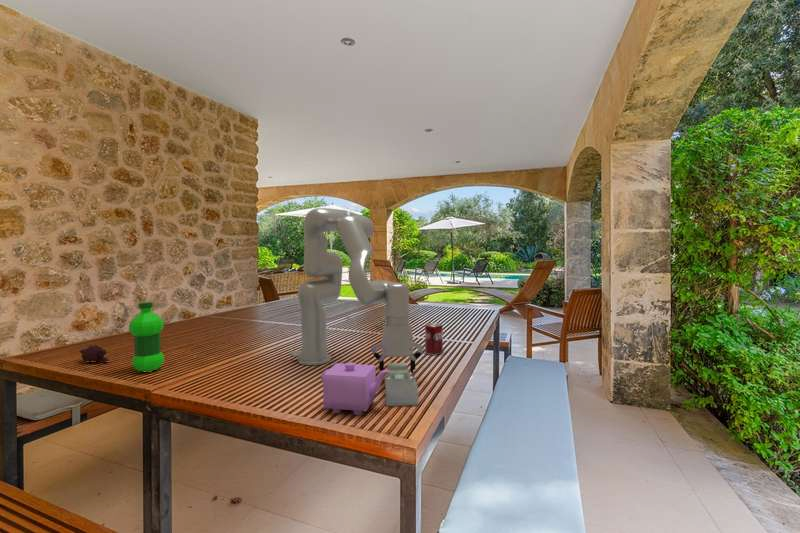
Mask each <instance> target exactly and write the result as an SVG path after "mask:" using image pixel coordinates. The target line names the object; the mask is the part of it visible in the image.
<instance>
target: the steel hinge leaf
mask: <svg viewBox="0 0 800 533" xmlns="http://www.w3.org/2000/svg"><path fill="white" fill-rule="evenodd" d="M384 393H385V406H386V407H402V406H403V407H405V406H406V407H409V406H419V387H418V383H417V380H416V377H415V375H411V374H409V375H407V378H399V379H392V376H388V375H384Z"/></svg>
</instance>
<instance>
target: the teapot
mask: <svg viewBox="0 0 800 533" xmlns="http://www.w3.org/2000/svg"><path fill="white" fill-rule="evenodd" d="M388 372H390V370H387V369H384V370H383V371H379V373H378V374H377V376H376V364H358V363H356V362H354V361H353V362H351V361H350V362H346V363H337V362H336V363H335V364H333V365H332V367H330V368H327V369H325V370H324V371H323V372H322V373H321V376H320V378H321V382H322V388H323V389H322V390H323V393H322V394H323V395H322V396H323V409H328V410H329V409H331V410H332V411H331V413H333V414H340V413H341V412H342V411H343V410H344V411H352V413H353V414H352V415H354V416H360V415H362V414H363V412H367V411H368V409H369V408H370V407H371V404H373V401H374V400H375V398H376V397H377V392H379V390H380V388H381V385H382V382H383V378H384V377H385V376H386V375H387V373H388Z"/></svg>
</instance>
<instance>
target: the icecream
mask: <svg viewBox="0 0 800 533" xmlns="http://www.w3.org/2000/svg"><path fill="white" fill-rule="evenodd" d="M79 353H80V354H81V358H82V361H84V362H86V361H89V362H90V363H92V362H91V361H98V362H102V361H109V362H110V360H109V358H108V357H105V355H107V350H106V349H103V347H102V346H99V345H98V344H94V345H93V344H92V345H89V346H88V347H86V348H83V349H80V350H79ZM99 360H100V361H99Z"/></svg>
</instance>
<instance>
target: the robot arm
mask: <svg viewBox="0 0 800 533" xmlns="http://www.w3.org/2000/svg"><path fill="white" fill-rule="evenodd" d="M303 232H304V250H303V253H304V254H303V272H304V274H305V275H306V276H307V277H310V278H320V277H323V279H311V280H307V281H304V282H302V283H301V284H299V285H300V286H299V287H298V289H297V297H298V298H297V299H298V302H299V306H300V321H301V323H300V326H301V349H298V350H291V351H290V356H292V357H293V358H296V357H297V358H298V359H297V362H298V364H300V365H303V366H317V365H318V366H321V365H324V364H328V363H329V362H331V360H332V355H330V354H328V346H327V345H328V344H327V343H328V341H327V339H328V338H327V337H328V336H327V314H326V310H325V309H324V308H323V306H322V304H328V303H332V302H336V301H337V300H338V299H339V297H340V296H341V290H342V279H343V278H342V277H343V261H342V258H341V257H340V255H339V254H337V253H336V252H333V251H328V243H329V242H328V239H327V236H326V234H325V232H333V233H336V232H337V234H338V235H339V237H340V239H341V243H342V244H343V246H344V248H345V251H346V253H347V255H348V257H349V260H350V264H349V268H348V279H349V285H350V286H351V289H352V292H353V293H354V295H355V297H356V299H357V300H358V302H359V303H360V304H362V305H363V306H372V305H373V306H374V305H378V304H384V303H385V316H383V317H381V322H382V323H385V324H383V327H382V336H381V341H380V342H377V343H376V344H375V345H373V346H371V347H370V352H372V355H373V357H374V358H375V359H376V360H378V363H379V366H378V367H379V370H378V371H379V372H381V371H383V370H385V366H384V365H385V361H384V360H385V358H404V357H405V358H406V357H409V358H410V363H409V367H410V368H409V370H410V371H409V372H410V373H411V374H414V371H415V370H416V361H417V359H418V358H420V357H421V355H422V353H423V351H424V350H425V346H423V345H422V344H419V343H417V342H415V341H414V335H413V327H412V324H410V320H409V319H410V287H409V286H410V285H408V283H405V282H395V281H394V282H393V281H390V280H385V279H382V280H381V279H380V280H373V281H370V280H369V278H368V276H367V273H366V270H365V262H366V261H368V260H369V259H370V258H371V257H372V256H373V254H374V248H373V246H372V245H371V243H370V241H369V239H371V237H372V236H373V234H374V232H375V228H374V222H372V220H371V219H370V218H369V217H367V216H365V215H362V214H359V213H356V212H353V211H349V210H345V209H340V208H339V209H338V208H336V209H335V208H329V207H328V208H327V207H326V208H325V207H317V208H313V209H311V210H310V211H308V213H306V215H305V217H304V220H303ZM414 348H416V349H417V351H416V352H415V353H414ZM378 349H381V353H380V354H379V352H377V350H378Z"/></svg>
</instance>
